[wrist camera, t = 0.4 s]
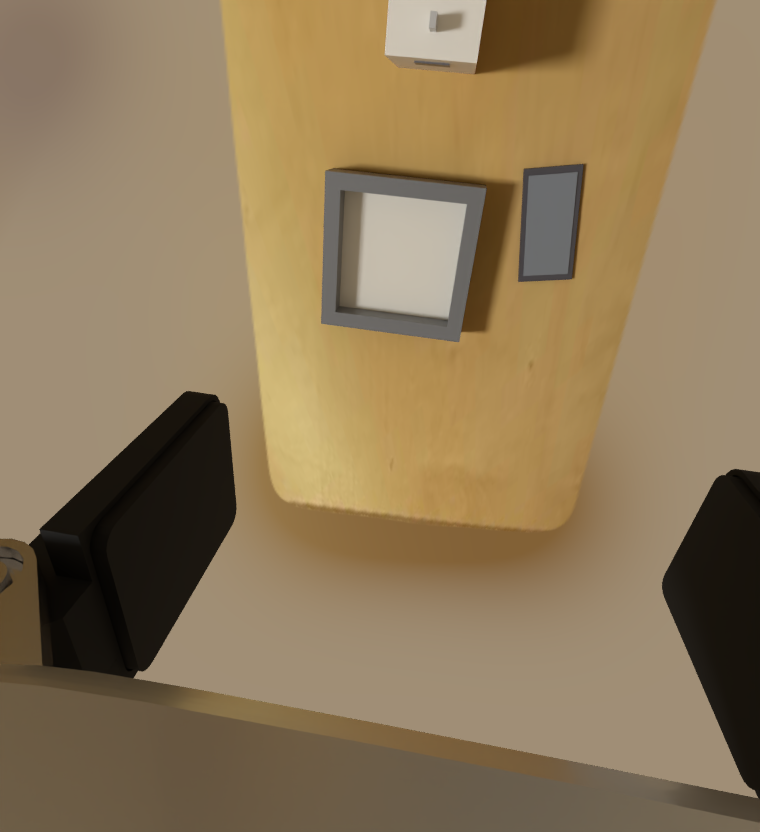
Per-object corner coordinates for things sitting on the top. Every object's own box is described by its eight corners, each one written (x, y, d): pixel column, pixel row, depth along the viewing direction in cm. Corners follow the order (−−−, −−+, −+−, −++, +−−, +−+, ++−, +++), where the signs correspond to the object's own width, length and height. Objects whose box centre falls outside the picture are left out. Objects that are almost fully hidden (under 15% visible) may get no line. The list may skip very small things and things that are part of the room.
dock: (332, 168, 33) (325, 170, 31) (485, 185, 32) (486, 188, 30) (327, 314, 38) (321, 323, 36) (459, 332, 37) (459, 342, 35)
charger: (406, -33, 27) (390, -80, 21) (489, -27, 27) (497, -73, 21) (398, 69, 29) (381, 54, 23) (474, 76, 29) (477, 62, 23)
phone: (522, 168, 32) (524, 169, 31) (580, 163, 31) (583, 164, 30) (517, 278, 35) (518, 282, 34) (569, 276, 34) (571, 279, 34)
